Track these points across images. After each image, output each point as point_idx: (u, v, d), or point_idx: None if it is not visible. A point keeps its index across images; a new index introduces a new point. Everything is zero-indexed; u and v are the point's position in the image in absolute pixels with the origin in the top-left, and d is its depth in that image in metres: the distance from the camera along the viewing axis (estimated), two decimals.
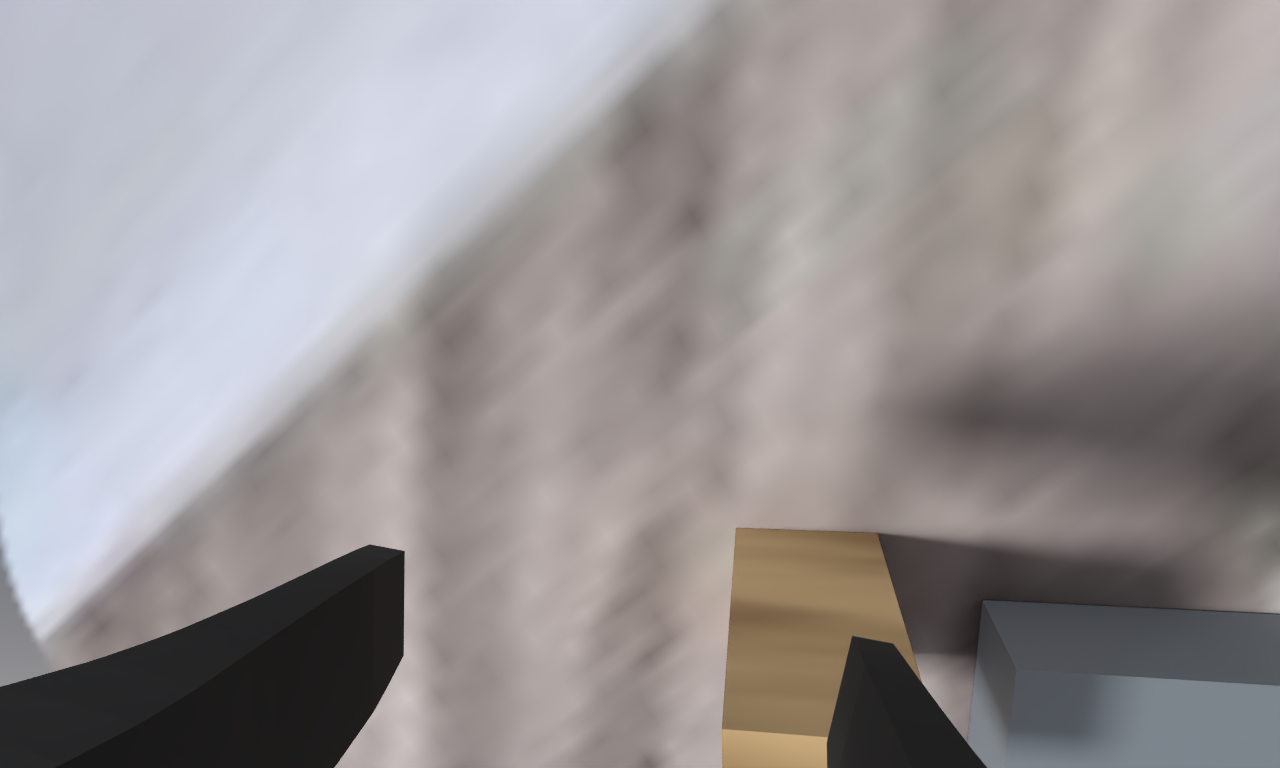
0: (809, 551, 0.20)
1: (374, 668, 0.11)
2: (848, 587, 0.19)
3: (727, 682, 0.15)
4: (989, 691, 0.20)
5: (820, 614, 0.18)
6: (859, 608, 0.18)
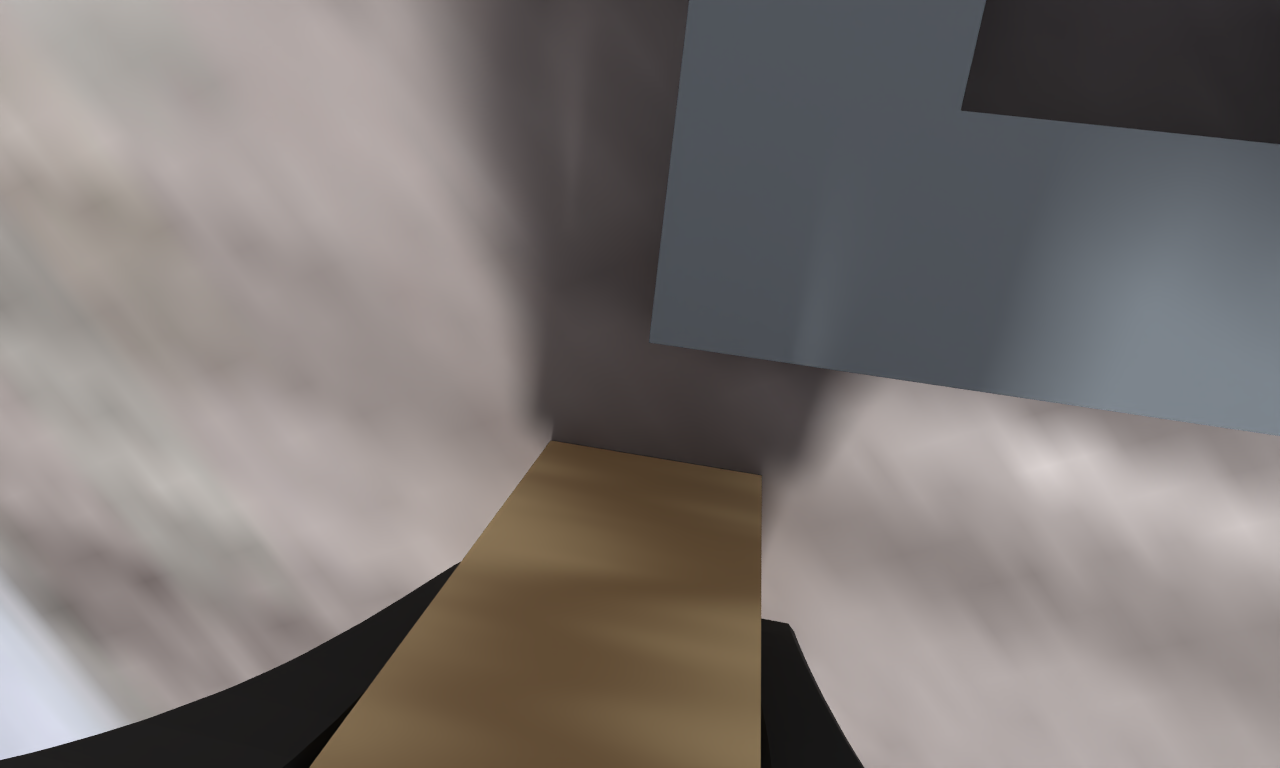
0: None
1: None
2: None
3: None
4: None
5: None
6: None
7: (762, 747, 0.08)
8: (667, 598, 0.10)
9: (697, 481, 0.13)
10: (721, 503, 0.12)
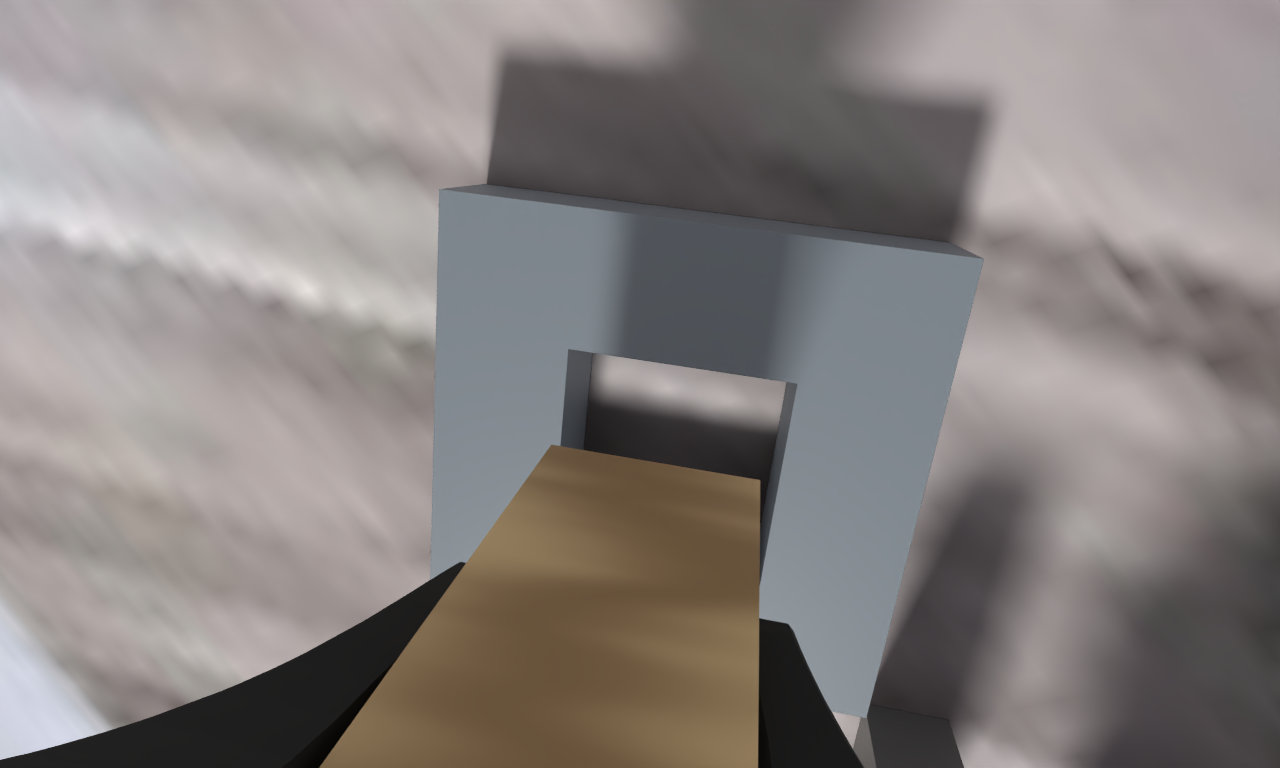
0: None
1: None
2: None
3: None
4: None
5: None
6: None
7: (762, 747, 0.08)
8: (667, 604, 0.10)
9: (697, 486, 0.13)
10: (720, 508, 0.12)
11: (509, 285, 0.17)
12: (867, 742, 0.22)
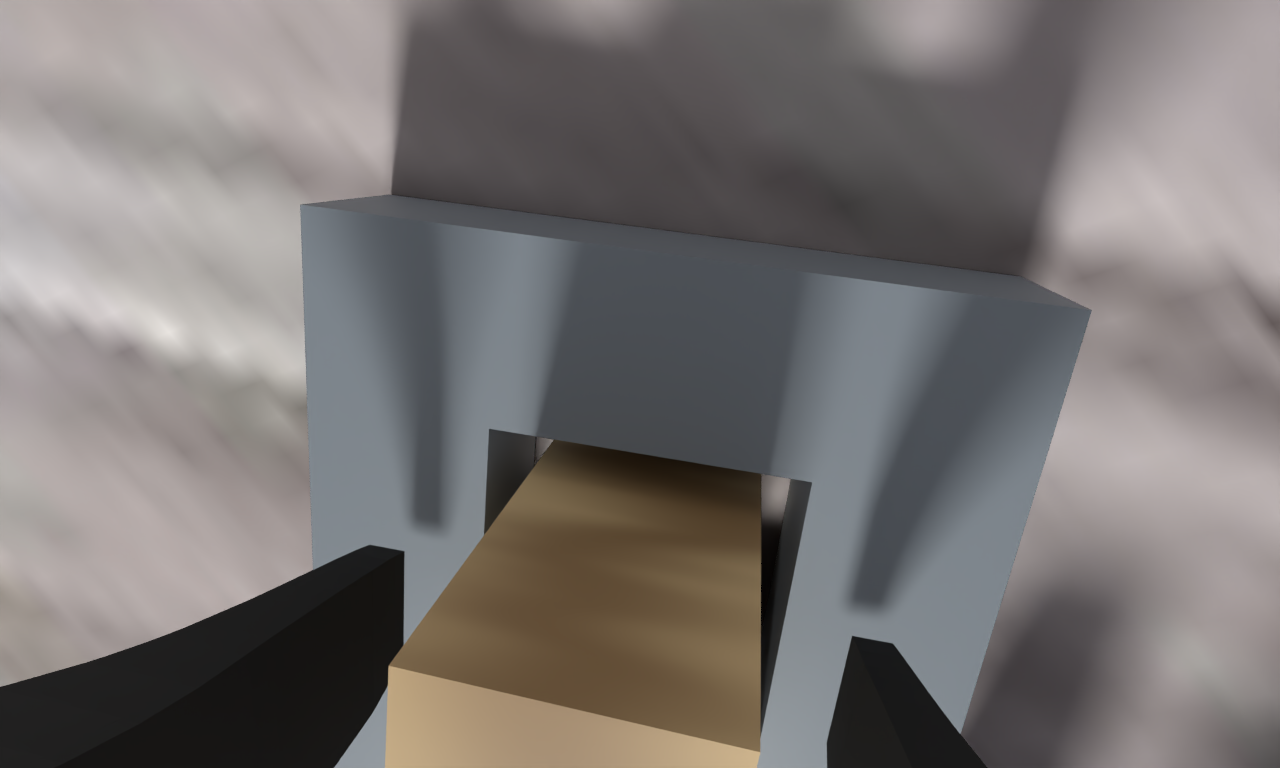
0: None
1: (374, 668, 0.11)
2: None
3: None
4: None
5: None
6: None
7: None
8: (680, 547, 0.11)
9: None
10: (726, 474, 0.14)
11: (404, 340, 0.12)
12: None
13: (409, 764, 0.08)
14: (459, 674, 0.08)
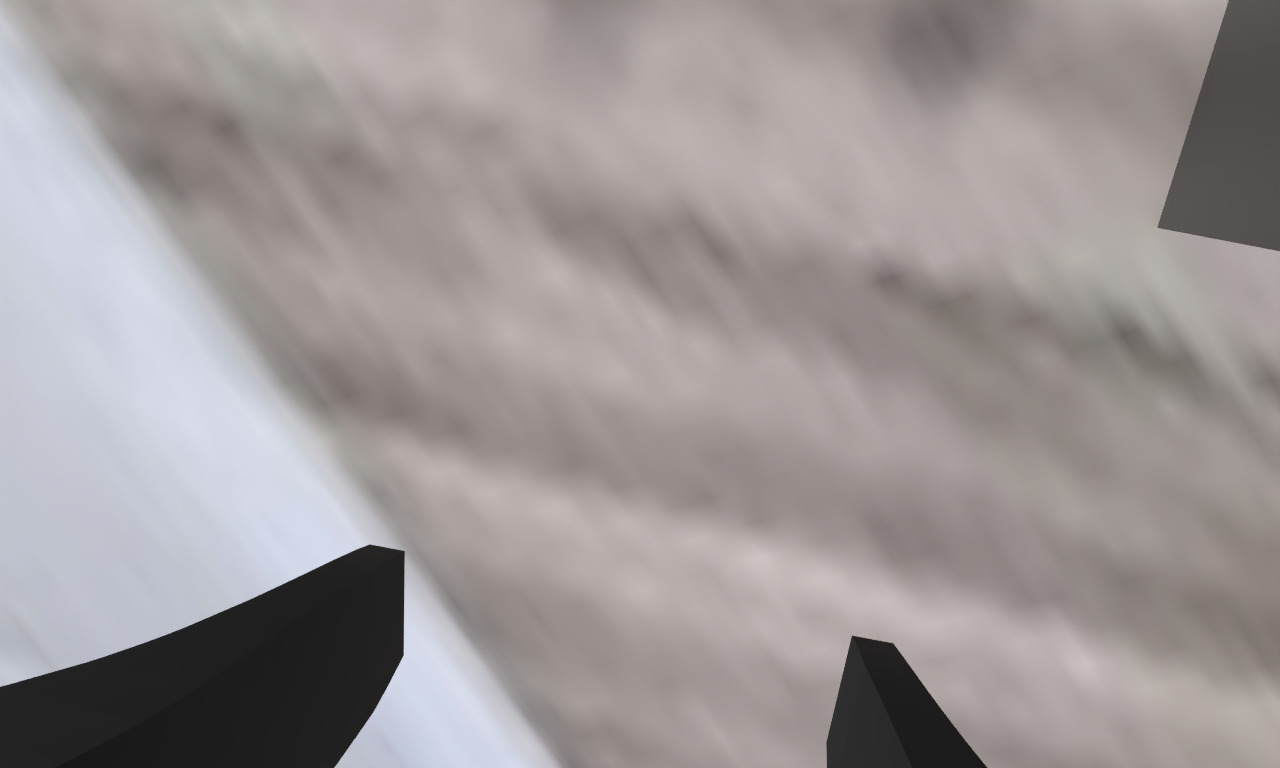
0: None
1: (374, 668, 0.11)
2: None
3: None
4: None
5: None
6: None
7: None
8: None
9: None
10: None
11: None
12: None
13: None
14: None
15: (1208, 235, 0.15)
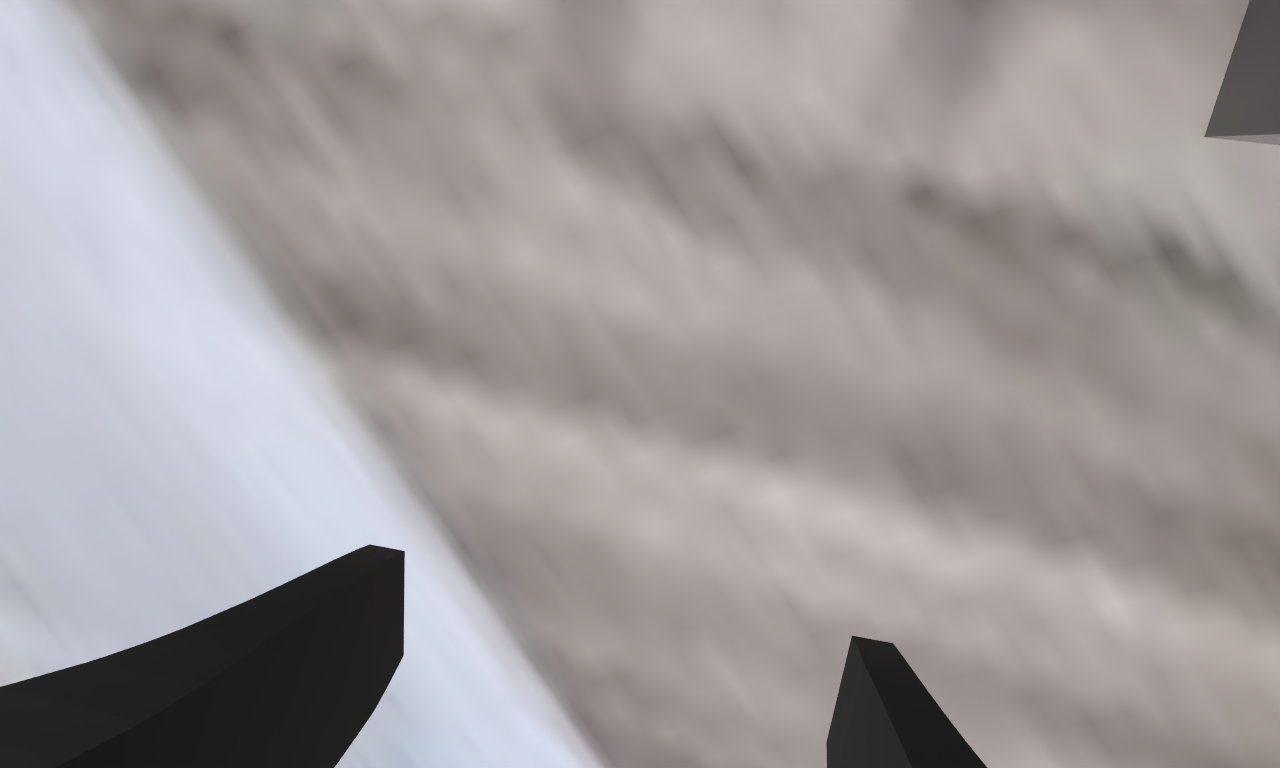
0: None
1: (374, 668, 0.11)
2: None
3: None
4: None
5: None
6: None
7: None
8: None
9: None
10: None
11: None
12: None
13: None
14: None
15: (1264, 132, 0.14)
